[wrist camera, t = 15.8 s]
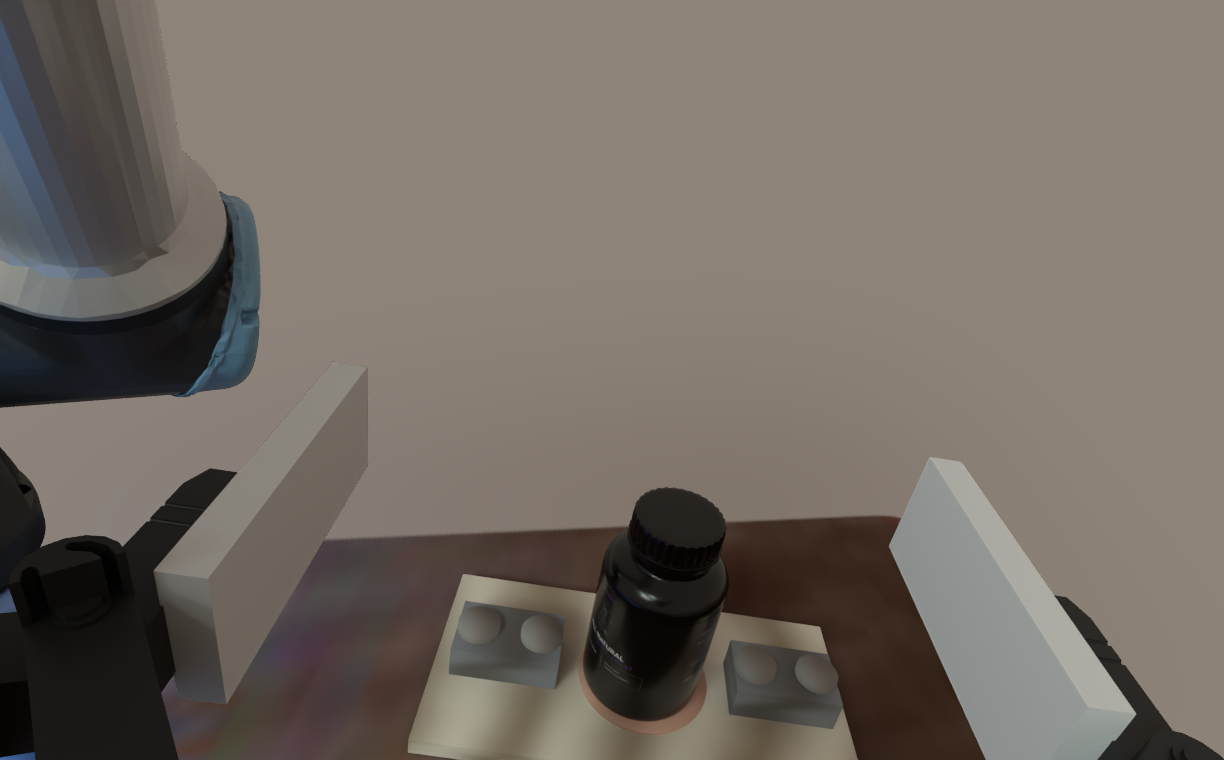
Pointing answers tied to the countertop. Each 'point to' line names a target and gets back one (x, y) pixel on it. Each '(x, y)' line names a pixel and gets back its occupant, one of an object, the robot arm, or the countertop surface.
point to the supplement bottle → (657, 606)
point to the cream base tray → (581, 725)
